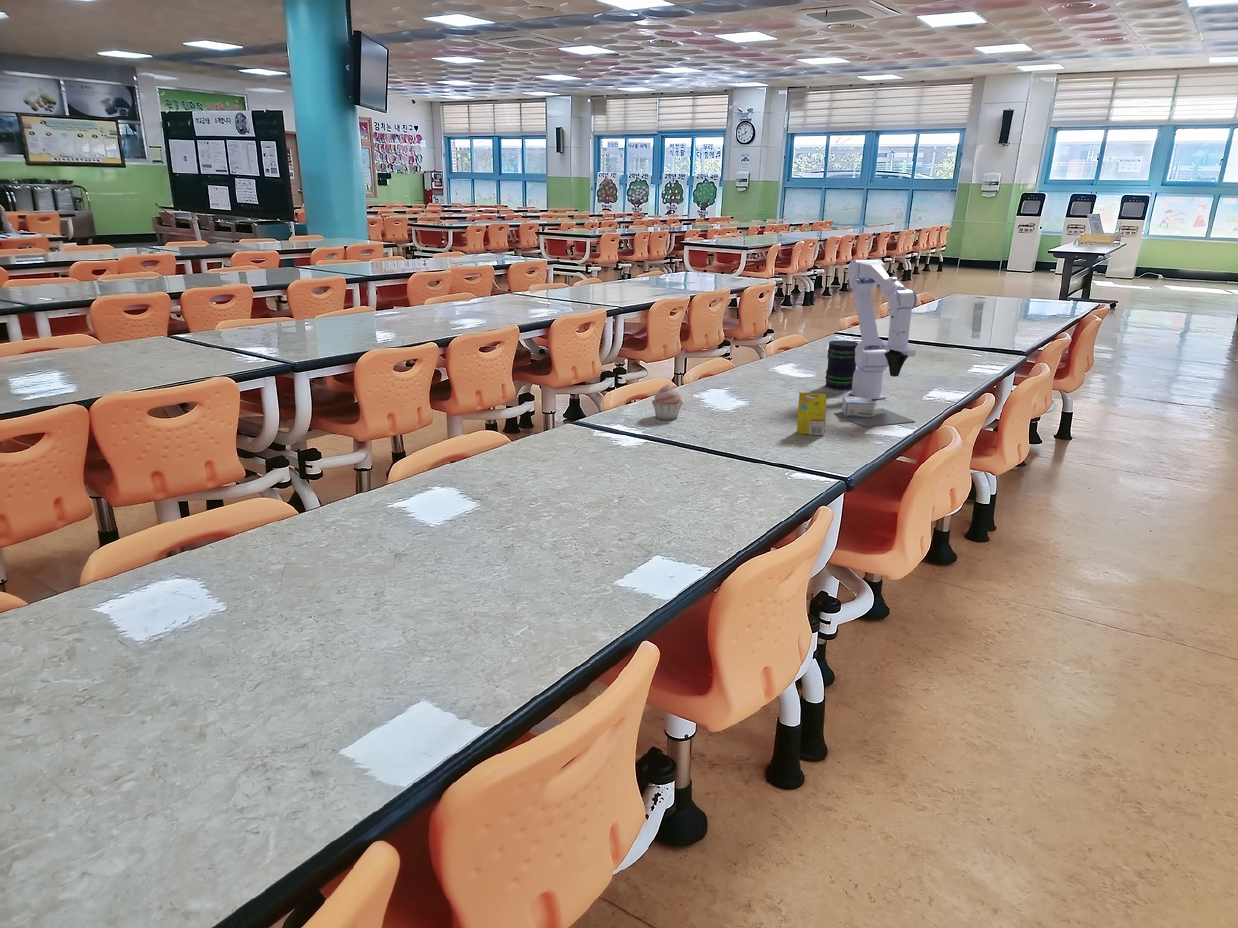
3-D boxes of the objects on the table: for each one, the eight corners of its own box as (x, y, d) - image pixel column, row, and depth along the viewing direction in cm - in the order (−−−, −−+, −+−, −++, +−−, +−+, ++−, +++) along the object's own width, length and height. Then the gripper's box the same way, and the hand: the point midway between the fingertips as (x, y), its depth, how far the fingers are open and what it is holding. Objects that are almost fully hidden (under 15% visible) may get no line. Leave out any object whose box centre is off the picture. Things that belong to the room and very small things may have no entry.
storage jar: (824, 389, 277) (828, 344, 272) (824, 382, 286) (828, 339, 281) (855, 391, 275) (859, 346, 270) (854, 384, 284) (858, 341, 279)
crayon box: (824, 433, 228) (827, 391, 225) (824, 435, 226) (827, 394, 222) (797, 430, 230) (800, 389, 227) (796, 433, 228) (799, 392, 224)
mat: (833, 413, 247) (833, 412, 247) (882, 409, 253) (882, 408, 253) (864, 427, 234) (864, 426, 233) (915, 422, 239) (915, 421, 239)
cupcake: (680, 422, 238) (681, 388, 235) (648, 420, 240) (649, 387, 237) (685, 414, 247) (685, 381, 244) (653, 412, 249) (654, 380, 246)
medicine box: (869, 396, 248) (875, 403, 240) (868, 410, 250) (873, 418, 242) (842, 395, 249) (847, 402, 241) (841, 410, 251) (845, 417, 242)
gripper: (872, 328, 252) (868, 372, 256) (903, 335, 239) (898, 382, 243) (892, 326, 254) (887, 370, 258) (923, 334, 241) (918, 380, 245)
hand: (894, 376), depth 251 cm, fingers closed
